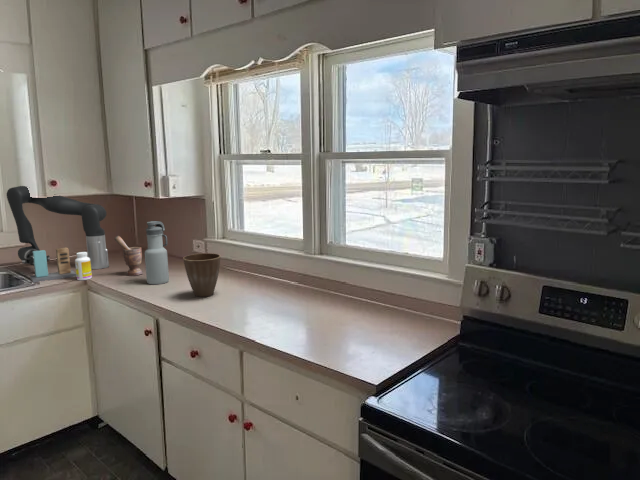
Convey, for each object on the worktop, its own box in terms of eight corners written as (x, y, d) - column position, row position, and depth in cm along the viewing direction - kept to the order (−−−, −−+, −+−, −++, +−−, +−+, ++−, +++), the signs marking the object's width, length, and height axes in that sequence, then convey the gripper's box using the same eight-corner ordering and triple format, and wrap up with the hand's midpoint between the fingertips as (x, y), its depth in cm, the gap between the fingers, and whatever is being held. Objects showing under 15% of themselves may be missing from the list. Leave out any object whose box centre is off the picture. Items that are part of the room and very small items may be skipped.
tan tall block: (69, 271, 255) (66, 247, 253) (71, 272, 252) (68, 248, 250) (58, 272, 252) (55, 248, 250) (59, 274, 249) (57, 249, 247)
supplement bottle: (94, 277, 248) (92, 251, 246) (87, 280, 241) (84, 253, 239) (81, 277, 248) (79, 251, 246) (73, 280, 242) (71, 254, 240)
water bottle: (156, 279, 241) (152, 220, 237) (174, 280, 238) (169, 220, 233) (142, 284, 232) (137, 222, 227) (160, 285, 228) (155, 223, 224)
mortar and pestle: (125, 278, 244) (122, 237, 241) (115, 276, 249) (112, 235, 246) (147, 273, 253) (143, 233, 250) (137, 271, 258) (133, 232, 255)
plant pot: (229, 294, 211) (227, 256, 208) (197, 301, 201) (194, 261, 198) (210, 288, 221) (208, 251, 219) (178, 295, 211) (176, 257, 209)
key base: (72, 272, 259) (72, 270, 259) (77, 276, 251) (76, 273, 251) (30, 278, 248) (29, 275, 248) (33, 282, 240) (32, 279, 240)
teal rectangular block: (47, 274, 249) (44, 250, 248) (48, 275, 246) (45, 251, 244) (35, 275, 246) (32, 251, 245) (36, 277, 243) (33, 252, 241)
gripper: (17, 251, 259) (22, 256, 246) (47, 248, 267) (52, 252, 253) (19, 266, 261) (24, 271, 247) (48, 262, 268) (54, 267, 254)
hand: (38, 262), depth 250 cm, fingers closed
